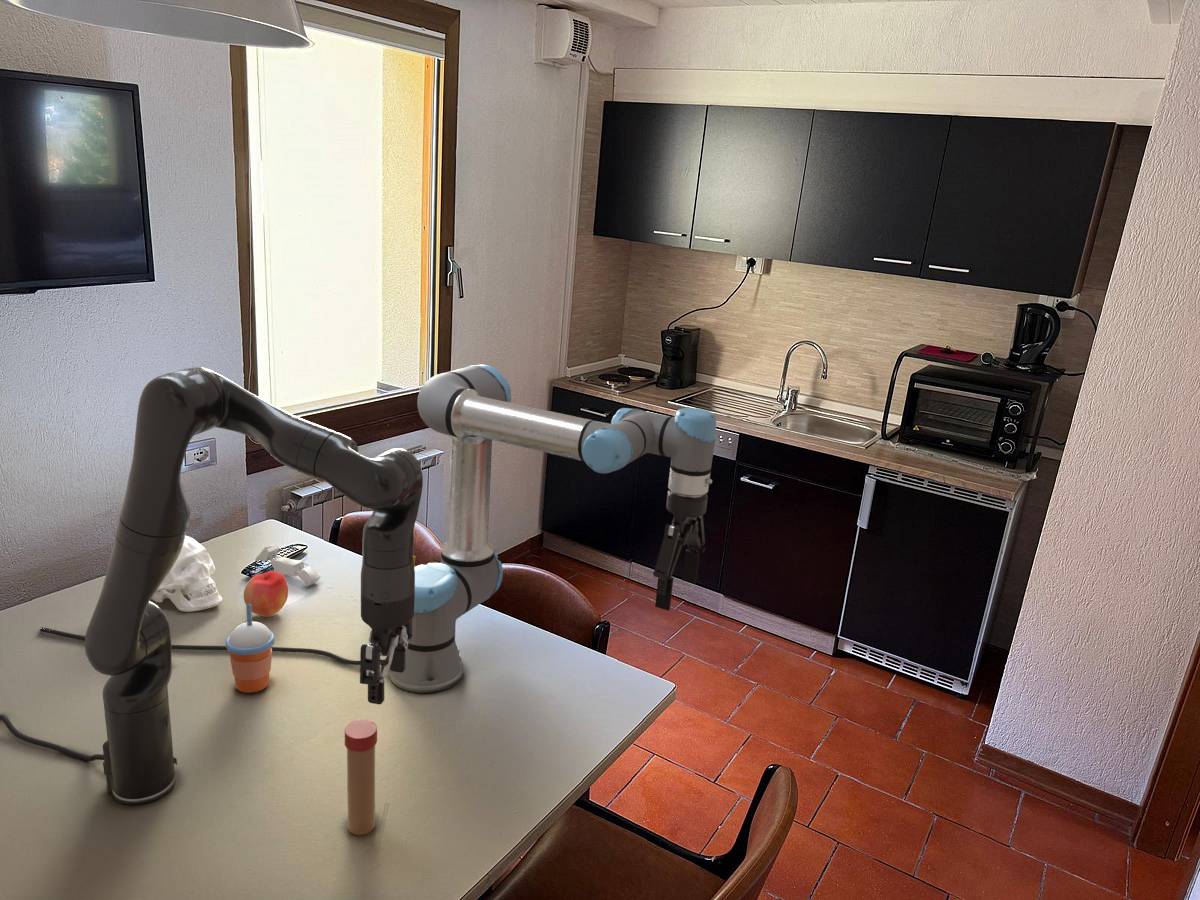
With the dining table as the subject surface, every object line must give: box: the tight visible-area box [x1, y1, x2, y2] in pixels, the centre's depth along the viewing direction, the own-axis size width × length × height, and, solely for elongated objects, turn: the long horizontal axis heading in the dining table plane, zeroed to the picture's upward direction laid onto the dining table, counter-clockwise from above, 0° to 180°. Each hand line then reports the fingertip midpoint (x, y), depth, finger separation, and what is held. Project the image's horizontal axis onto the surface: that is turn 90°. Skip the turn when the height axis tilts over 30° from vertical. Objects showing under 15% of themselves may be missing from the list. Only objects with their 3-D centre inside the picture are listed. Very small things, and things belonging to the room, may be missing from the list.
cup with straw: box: [225, 604, 276, 694], centre depth 171 cm, size 9×9×18 cm
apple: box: [243, 570, 289, 618], centre depth 199 cm, size 10×10×10 cm
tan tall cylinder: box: [346, 745, 376, 836], centre depth 136 cm, size 4×4×18 cm
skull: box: [151, 535, 223, 613], centre depth 202 cm, size 13×22×16 cm, turn 73°
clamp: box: [254, 544, 322, 587], centre depth 219 cm, size 20×4×7 cm, turn 62°
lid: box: [344, 719, 378, 752], centre depth 134 cm, size 5×5×2 cm
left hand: (387, 686), depth 127 cm, fingers open, 8 cm apart
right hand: (676, 594), depth 165 cm, fingers open, 13 cm apart
